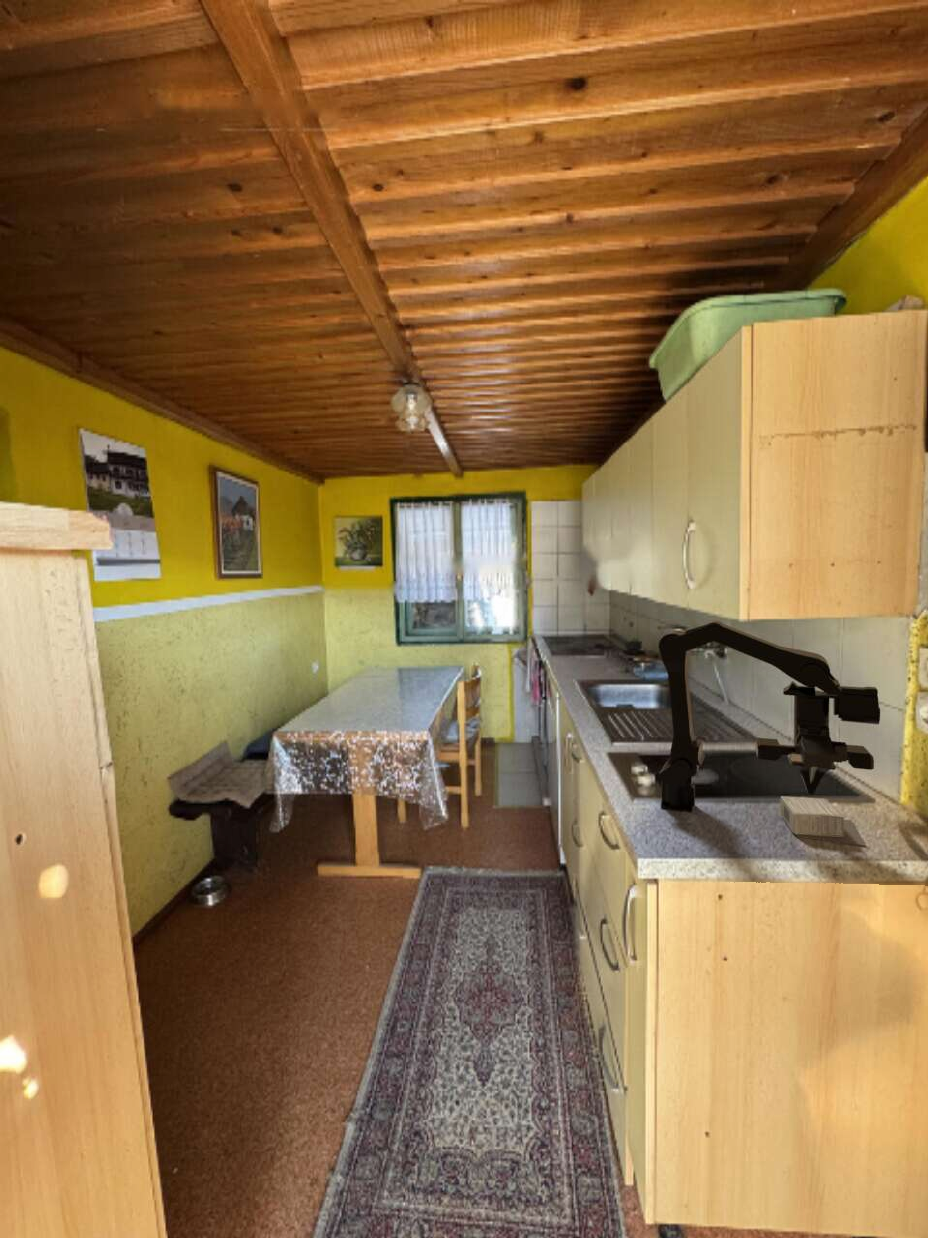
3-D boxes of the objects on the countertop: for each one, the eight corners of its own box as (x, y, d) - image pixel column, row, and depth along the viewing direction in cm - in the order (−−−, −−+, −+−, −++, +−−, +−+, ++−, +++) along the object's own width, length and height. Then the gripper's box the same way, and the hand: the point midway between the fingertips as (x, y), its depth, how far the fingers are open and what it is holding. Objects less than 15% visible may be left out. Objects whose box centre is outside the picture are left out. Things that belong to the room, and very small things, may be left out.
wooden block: (793, 834, 99) (844, 839, 97) (793, 813, 99) (845, 816, 97) (779, 815, 107) (827, 819, 105) (780, 795, 106) (827, 798, 104)
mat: (796, 836, 99) (796, 835, 99) (788, 813, 108) (788, 812, 108) (865, 847, 94) (865, 845, 94) (851, 822, 103) (851, 820, 103)
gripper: (760, 726, 96) (760, 805, 97) (884, 735, 88) (882, 820, 89) (755, 710, 106) (755, 782, 107) (865, 717, 98) (864, 794, 99)
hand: (810, 794), depth 100 cm, fingers closed
